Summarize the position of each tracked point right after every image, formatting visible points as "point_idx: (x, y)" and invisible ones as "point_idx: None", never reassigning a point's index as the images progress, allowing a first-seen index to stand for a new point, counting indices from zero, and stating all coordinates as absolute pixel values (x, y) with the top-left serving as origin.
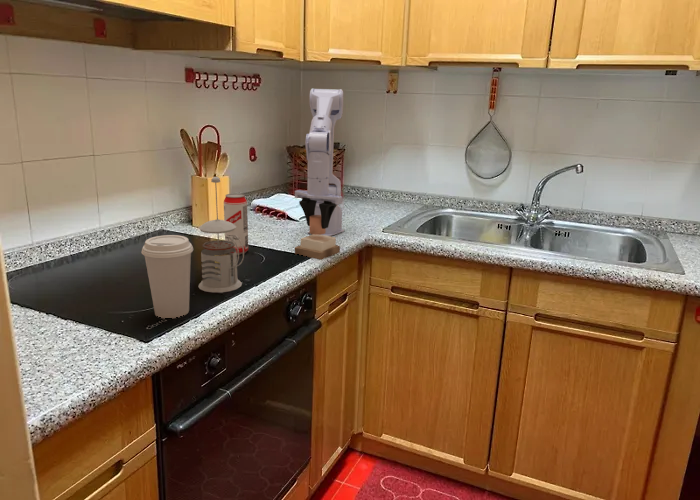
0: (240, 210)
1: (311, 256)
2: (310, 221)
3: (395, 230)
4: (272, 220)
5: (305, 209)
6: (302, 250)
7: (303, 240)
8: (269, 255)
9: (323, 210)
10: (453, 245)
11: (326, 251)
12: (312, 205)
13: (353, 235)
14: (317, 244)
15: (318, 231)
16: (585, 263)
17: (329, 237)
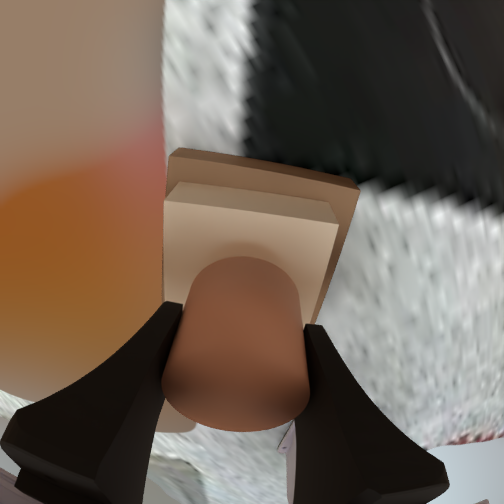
0: None
1: (240, 158)
2: (282, 331)
3: (169, 468)
4: (477, 426)
5: (358, 429)
6: (304, 175)
7: (315, 218)
8: (447, 110)
9: (78, 405)
10: (20, 405)
11: None
12: (308, 491)
13: (236, 436)
14: (203, 199)
15: (206, 277)
16: None
17: None
